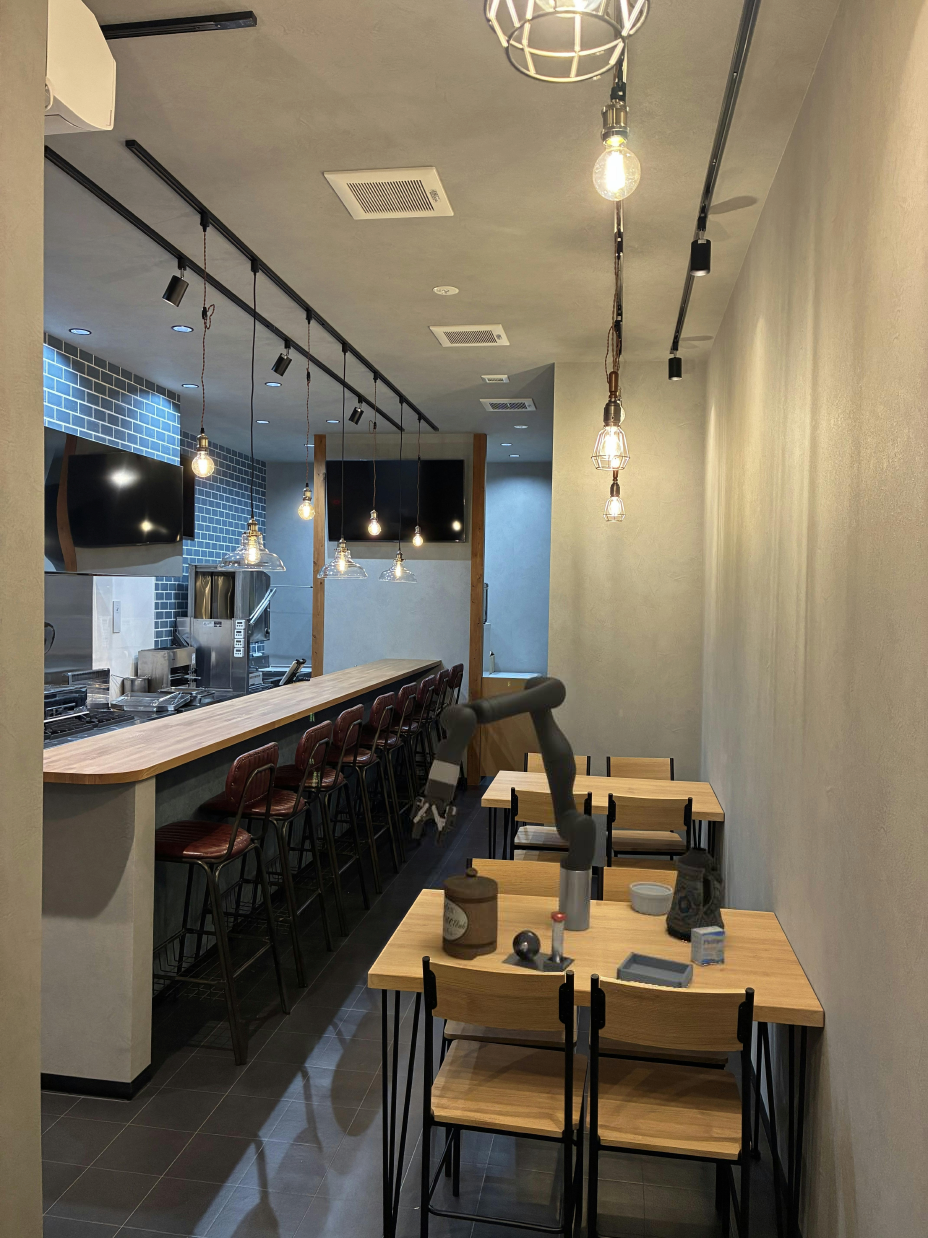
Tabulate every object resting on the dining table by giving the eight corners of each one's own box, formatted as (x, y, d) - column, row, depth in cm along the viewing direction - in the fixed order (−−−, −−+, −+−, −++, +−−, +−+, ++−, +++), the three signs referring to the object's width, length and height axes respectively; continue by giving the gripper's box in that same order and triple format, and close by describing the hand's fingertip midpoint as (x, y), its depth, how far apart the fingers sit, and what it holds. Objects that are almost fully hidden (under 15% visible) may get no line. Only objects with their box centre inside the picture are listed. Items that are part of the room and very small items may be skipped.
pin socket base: (519, 951, 235) (520, 921, 235) (575, 963, 228) (576, 933, 228) (500, 966, 224) (501, 935, 224) (559, 979, 217) (560, 947, 217)
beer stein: (683, 920, 265) (686, 838, 265) (743, 938, 251) (746, 851, 251) (654, 933, 253) (657, 847, 253) (716, 952, 239) (719, 861, 239)
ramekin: (645, 900, 283) (646, 879, 283) (680, 911, 273) (681, 889, 273) (620, 908, 274) (621, 886, 274) (655, 920, 264) (656, 897, 264)
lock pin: (552, 961, 226) (554, 910, 226) (566, 964, 225) (567, 913, 225) (547, 966, 223) (548, 914, 223) (561, 969, 221) (562, 917, 221)
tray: (630, 965, 228) (631, 952, 228) (692, 978, 221) (693, 964, 221) (616, 983, 216) (617, 969, 216) (681, 997, 209) (681, 983, 209)
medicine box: (700, 967, 229) (701, 933, 229) (689, 960, 233) (691, 928, 233) (724, 963, 232) (725, 930, 232) (713, 957, 236) (714, 925, 236)
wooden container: (434, 942, 239) (437, 862, 239) (484, 937, 244) (487, 859, 244) (452, 963, 225) (455, 878, 225) (505, 957, 231) (508, 874, 231)
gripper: (471, 788, 226) (455, 850, 223) (433, 778, 236) (418, 837, 233) (452, 782, 221) (435, 846, 218) (414, 773, 231) (398, 833, 228)
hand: (426, 841), depth 226 cm, fingers open, 8 cm apart
